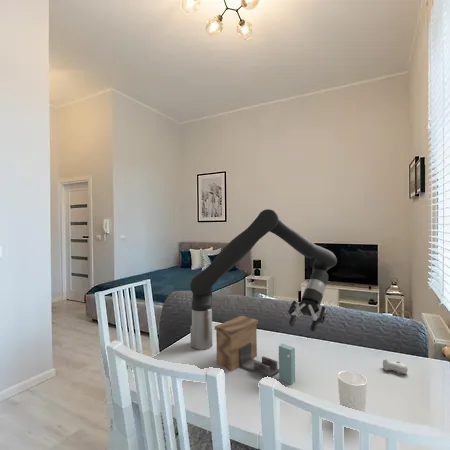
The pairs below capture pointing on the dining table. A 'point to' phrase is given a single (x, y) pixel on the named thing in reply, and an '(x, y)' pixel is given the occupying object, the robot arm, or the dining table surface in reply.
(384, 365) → the pale two-lobed sculpture
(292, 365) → the tall teal block
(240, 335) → the hinge cabinet
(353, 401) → the white cup
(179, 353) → the dining table surface
